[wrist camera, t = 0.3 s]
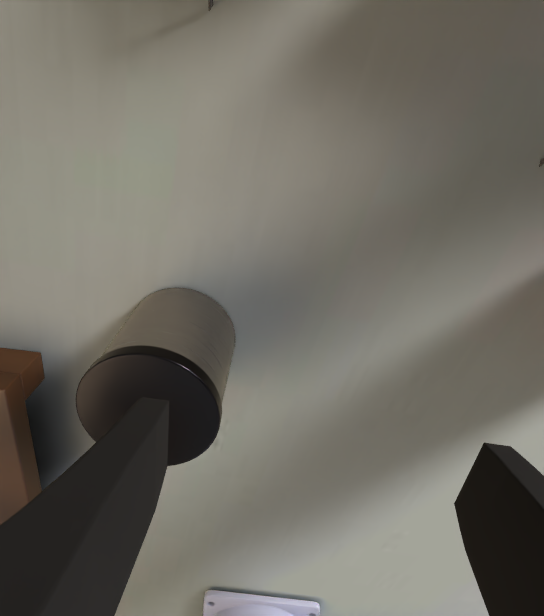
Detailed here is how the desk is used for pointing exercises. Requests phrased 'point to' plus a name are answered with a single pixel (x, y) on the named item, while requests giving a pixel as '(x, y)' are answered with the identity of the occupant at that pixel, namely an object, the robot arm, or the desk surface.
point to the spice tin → (164, 370)
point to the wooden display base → (17, 430)
